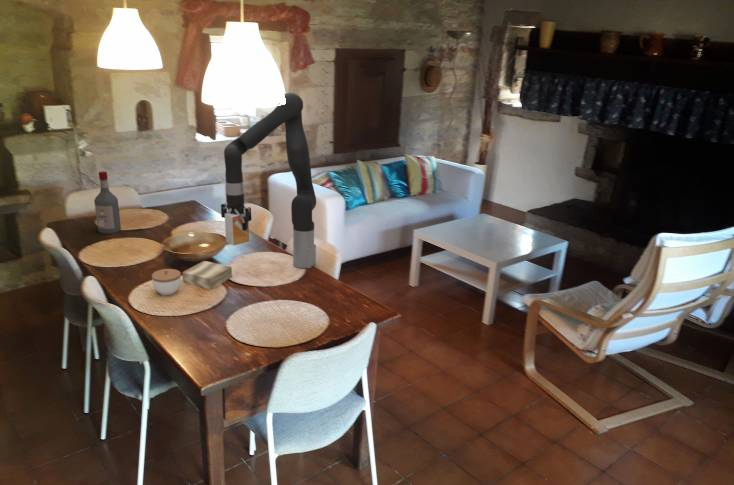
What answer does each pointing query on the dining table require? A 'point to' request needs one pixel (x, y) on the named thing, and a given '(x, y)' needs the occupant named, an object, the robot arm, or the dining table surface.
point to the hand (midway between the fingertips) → (236, 228)
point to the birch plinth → (207, 274)
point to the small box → (235, 230)
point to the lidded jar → (166, 281)
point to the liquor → (107, 208)
